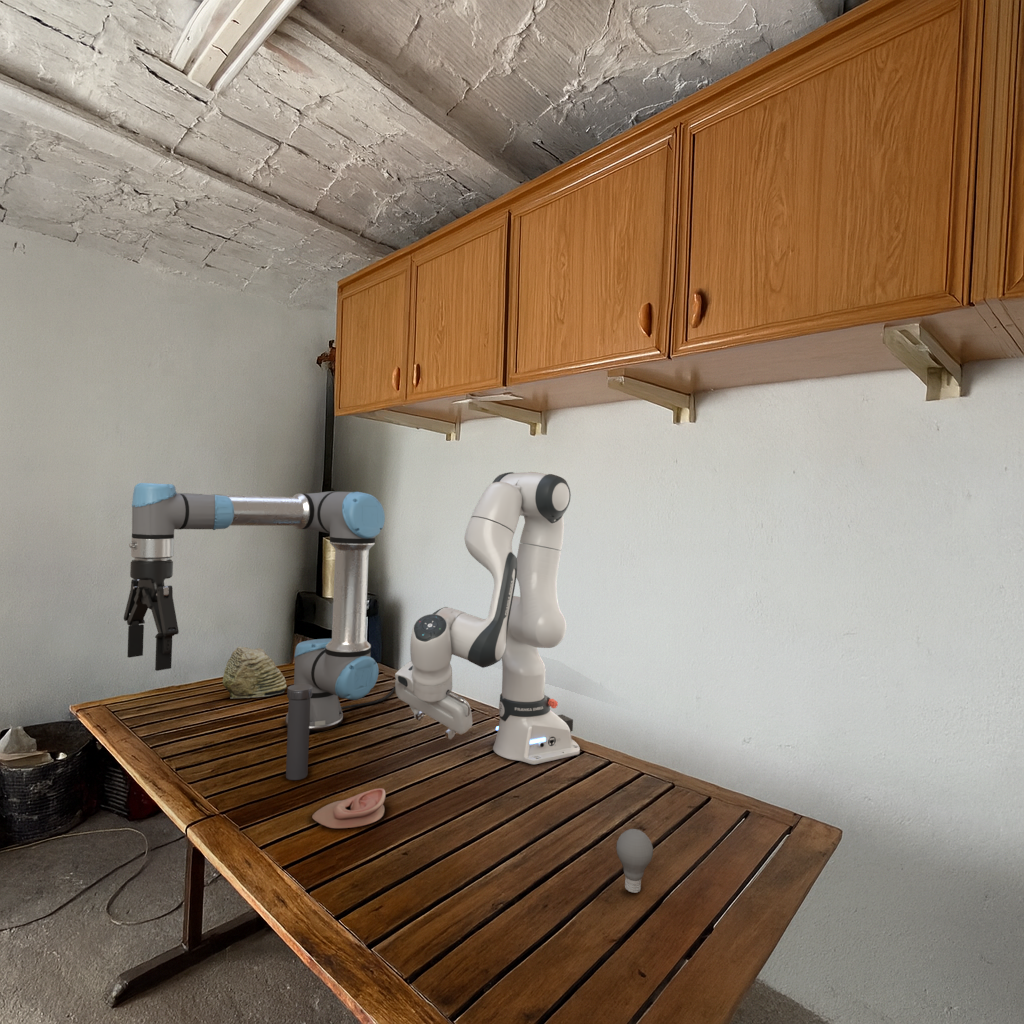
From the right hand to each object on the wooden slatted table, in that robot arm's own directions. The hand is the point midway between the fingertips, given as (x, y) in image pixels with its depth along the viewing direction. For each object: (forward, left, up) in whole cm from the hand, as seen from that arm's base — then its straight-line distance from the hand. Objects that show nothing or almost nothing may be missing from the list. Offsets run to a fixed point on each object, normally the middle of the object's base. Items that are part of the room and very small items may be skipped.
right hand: (434, 727), depth 147 cm
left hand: (+59, -5, +17) cm, 62 cm away
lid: (+29, -8, +9) cm, 32 cm away
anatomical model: (+21, +14, -11) cm, 27 cm away
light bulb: (-21, +53, -11) cm, 58 cm away
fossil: (+39, -70, -11) cm, 81 cm away
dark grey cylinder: (+30, -7, -11) cm, 32 cm away
